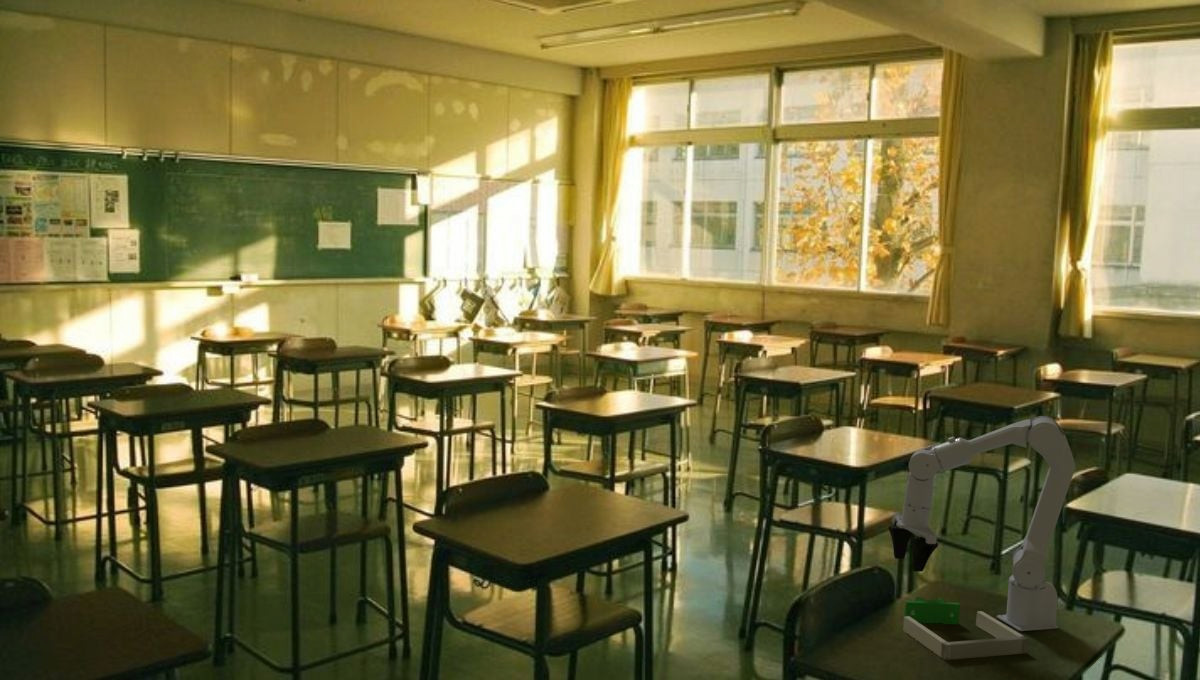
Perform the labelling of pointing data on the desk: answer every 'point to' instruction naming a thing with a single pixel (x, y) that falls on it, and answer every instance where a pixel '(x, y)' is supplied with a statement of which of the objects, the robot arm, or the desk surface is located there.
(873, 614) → the desk surface
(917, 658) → the desk surface
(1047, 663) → the desk surface
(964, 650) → the docking bay
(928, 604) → the green flat block
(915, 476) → the robot arm
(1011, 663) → the desk surface
